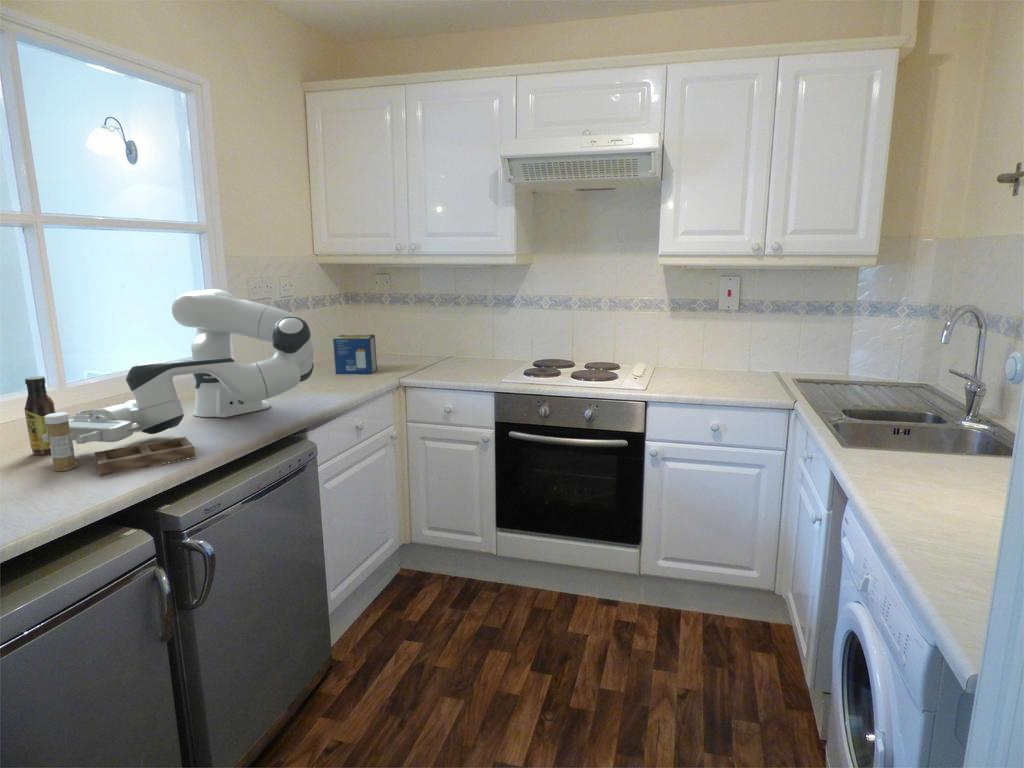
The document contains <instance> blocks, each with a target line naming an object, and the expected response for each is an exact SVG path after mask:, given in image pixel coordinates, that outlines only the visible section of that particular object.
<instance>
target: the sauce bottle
mask: <svg viewBox="0 0 1024 768" xmlns="http://www.w3.org/2000/svg"><path fill="white" fill-rule="evenodd" d="M24 381H25V383H24V384H25V385H26V389H27V397H26V402H25V406H24V415H25V420H26V426H27V432H28V439H29V444H30V449H31V451H32V453H33V455H36V456H43V455H44V454H45V455H49V454H51V449H50V442H44V441H43V438H42V436H43V435H44V434H47V426H46V424H45V418H44V417H45V416H46V415H48V414H52V413H57V411H56V408H55V402H54V401H53V399H52V398H51V397H50V396H49V395H48V394H47V393H48V391H47V387H46V383H47V382H46V377H45V376H42V375H41V376H40V375H38V376H37V375H35V376H29V377H27V378H25V379H24Z"/></svg>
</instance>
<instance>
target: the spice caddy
mask: <svg viewBox="0 0 1024 768" xmlns="http://www.w3.org/2000/svg"><path fill="white" fill-rule="evenodd" d="M195 451H196V449H195V445H194V444H193V443H192V442H191V441H190V440H189V439H188V438H187V436H183V437H182V436H181V437H177V438H176V437H175V438H171V439H164V440H160V441H153V442H147V443H142V444H140V443H139V444H135V445H129V446H124V447H123V446H122V447H118V448H112V449H111V448H110V449H107V450H106V449H105V450H101V451H94V452H93V453H94V454H93V455H94V460H95V461H94V462H95V466H96V468H97V471H98V474H99V477H102V476H108V475H114V473H115V474H120V473H124V472H128V471H129V472H131V471H134V470H140V468H141V469H146V468H150V466H151V467H155V466H154V465H156V466H160V464H162V465H165V464H164V463H167V464H169V463H168V462H172V463H174V462H173V461H177V462H179V461H178V460H182V461H184V460H183V459H187V458H193V457H196V452H195ZM193 459H194V458H193ZM145 467H146V468H145Z"/></svg>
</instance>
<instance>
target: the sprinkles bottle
mask: <svg viewBox="0 0 1024 768" xmlns="http://www.w3.org/2000/svg"><path fill="white" fill-rule="evenodd" d="M69 417H70V416H69V413H68V412H63V411H61V412H60V411H59V412H56V413H52V414H48V415H46V416H45V417H44V418H45V424H46V426H47V430H48V436H49V442H50V449H51V458H52V463H53V471H55V472H65V471H70V470H73V469H75V468H76V467H77V466H78V465H77V463H76V458H75V449H74V443H73V440H72V436H71V432H70V427H69Z"/></svg>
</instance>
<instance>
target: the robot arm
mask: <svg viewBox="0 0 1024 768" xmlns="http://www.w3.org/2000/svg"><path fill="white" fill-rule="evenodd" d="M171 314H172V317H173V319H174V320H175V321H176V322H177V323H178V324H179V325H181V326H183V327H186V328H194V329H196V330H195V331H196V332H195V337H194V339H193V341H192V343H191V345H190V347H191V350H190V351H191V356H192V357H191V358H192V359H187V360H177V361H176V360H175V361H168V362H167V361H166V362H165V361H146V362H142V363H141V362H140V363H138V364H136V365H134V366H132V367H131V368H130V369H129V371H128V373H127V375H126V379H125V381H126V384H127V385H128V387H129V390H130V392H132V395H133V399H129V400H126V401H124V402H122V403H120V404H119V403H118V404H112V405H109V406H106V407H101V408H97V409H91V410H82V411H78V412H76V413H75V415H72V416H69V427H70V432H71V436H72V441H75V443H76V444H77V445H79V444H81V445H83V444H87V443H91V442H92V443H93V442H101V443H103V442H104V443H115V442H119V441H122V440H124V439H127V438H129V437H131V436H132V435H133V434H134V433H140V432H141V433H144V434H148V435H156V434H159V433H162V432H164V431H166V430H168V429H172V428H175V427H178V426H179V425H180V423H181V422H182V421H183V418H184V416H185V413H184V410H183V407H182V403H181V402H180V401H181V400H180V398H179V396H178V394H177V391H176V388H175V385H174V382H173V378H174V377H175V376H177V377H178V376H186V375H192V381H193V386H194V389H195V404H194V410H193V416H196V417H199V418H200V417H201V418H214V417H215V418H229V417H232V416H238V415H243V414H247V413H252V412H258V411H262V410H267V409H269V408H270V407H271V406H270V403H269V402H268V401H267V400H268V399H272V398H275V397H277V396H280V395H282V394H284V393H286V392H289V391H291V390H293V389H295V388H296V387H297V386H298V385H299V383H303V382H305V381H306V380H308V379H309V378H311V377H312V374H313V371H314V347H313V343H312V338H311V331H310V330H311V329H310V327H309V325H308V323H307V322H306V321H305V320H304V319H302V318H300V317H299V316H298V315H296V314H293V313H291V312H289V311H287V310H284V309H281V308H278V307H275V306H272V305H267V304H263V303H261V302H256V301H253V300H247V299H243V298H235V296H234V295H232V293H230V292H229V291H226V290H223V289H219V288H218V289H217V288H210V289H201V290H192V291H187V292H185V293H183V294H181V295H180V296H178V297H176V298H175V299H174V300H173V302H172V305H171ZM231 334H234V335H238V336H239V335H240V336H243V337H248V338H251V339H255V340H259V341H263V342H267V343H272V347H273V355H271V357H269V358H266V359H263V360H258V361H254V362H250V363H249V362H248V363H242V362H239V361H238V362H237V361H235V360H234V359H233V358H232V354H231V353H232V352H231V350H232V349H231ZM42 438H43V441H44V442H49V436H48V430H47V434H44V435H43V436H42Z"/></svg>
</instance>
